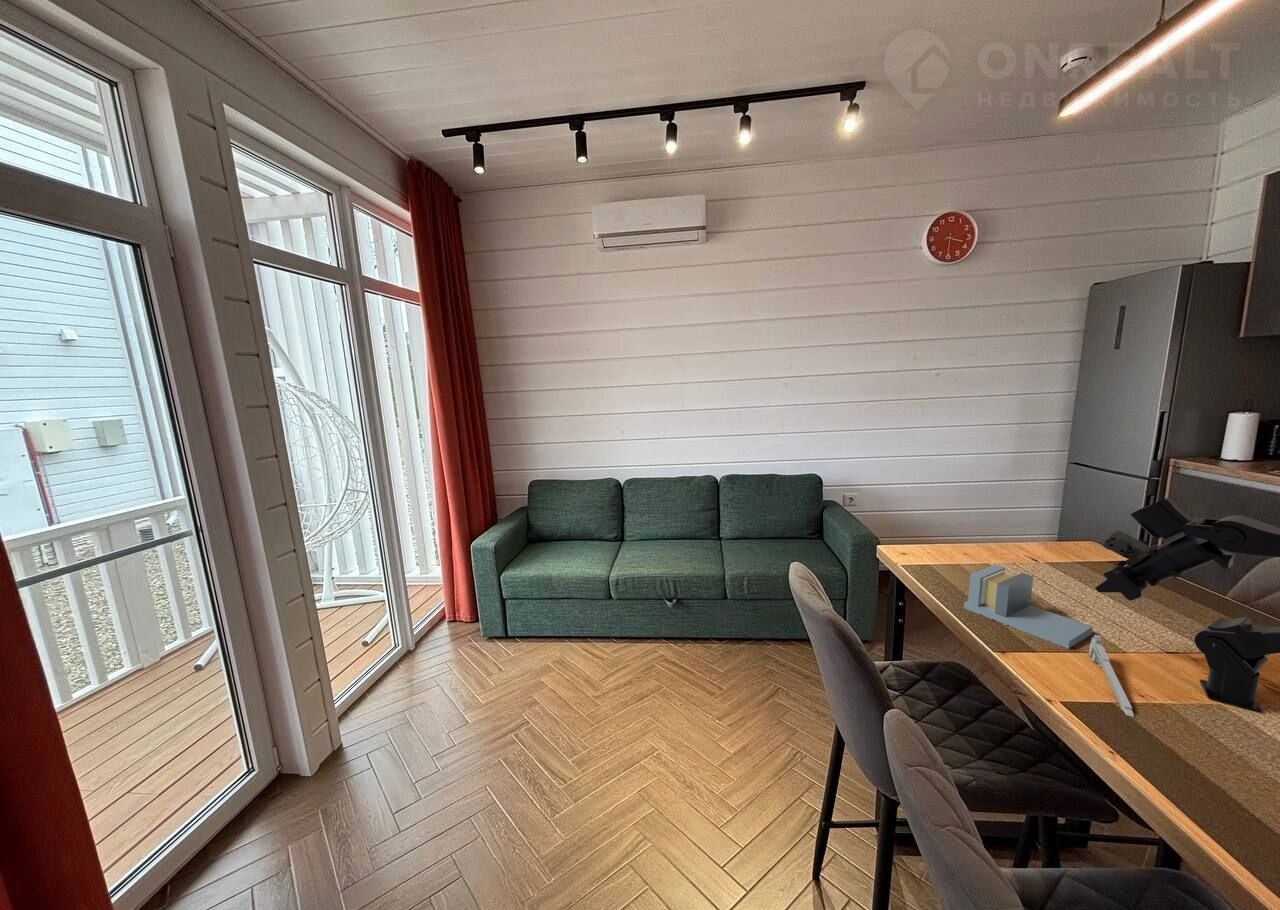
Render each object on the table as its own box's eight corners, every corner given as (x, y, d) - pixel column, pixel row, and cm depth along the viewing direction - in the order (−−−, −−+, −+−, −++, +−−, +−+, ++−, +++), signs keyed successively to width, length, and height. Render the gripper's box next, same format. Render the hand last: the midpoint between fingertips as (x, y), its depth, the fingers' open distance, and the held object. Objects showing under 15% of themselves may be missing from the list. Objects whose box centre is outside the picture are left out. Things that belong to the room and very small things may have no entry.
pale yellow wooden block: (1013, 602, 123) (1015, 577, 122) (996, 610, 120) (999, 584, 119) (1000, 598, 126) (1002, 573, 125) (983, 605, 122) (986, 580, 121)
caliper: (1088, 657, 103) (1091, 631, 102) (1094, 659, 102) (1098, 632, 101) (1126, 717, 85) (1130, 685, 84) (1134, 718, 85) (1139, 687, 84)
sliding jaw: (1030, 604, 122) (1033, 576, 120) (1005, 616, 116) (1009, 587, 115) (1017, 599, 124) (1020, 572, 123) (992, 611, 119) (995, 582, 117)
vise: (1091, 634, 111) (1097, 595, 110) (1068, 649, 106) (1073, 608, 104) (988, 597, 130) (991, 563, 129) (963, 608, 125) (966, 573, 123)
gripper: (1153, 514, 102) (1082, 548, 113) (1121, 533, 93) (1048, 568, 104) (1204, 559, 96) (1125, 590, 108) (1176, 584, 87) (1092, 615, 99)
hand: (1097, 589), depth 105 cm, fingers closed
